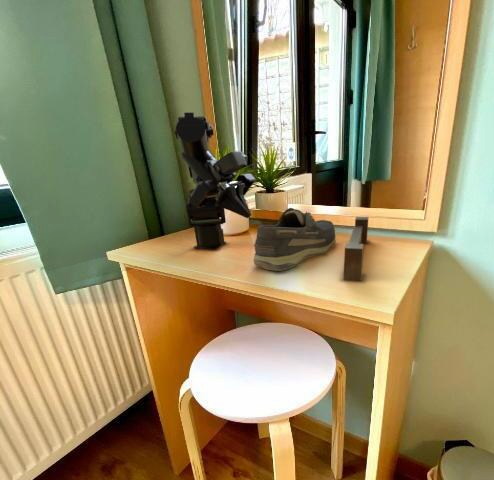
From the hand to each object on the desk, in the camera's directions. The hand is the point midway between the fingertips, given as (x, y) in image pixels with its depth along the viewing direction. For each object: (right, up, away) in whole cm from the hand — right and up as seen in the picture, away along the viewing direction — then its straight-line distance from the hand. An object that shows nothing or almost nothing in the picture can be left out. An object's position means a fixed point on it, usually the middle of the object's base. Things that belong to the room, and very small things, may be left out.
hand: (249, 216), depth 70 cm
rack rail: (+24, -9, 0) cm, 26 cm away
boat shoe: (+12, -9, +3) cm, 15 cm away
